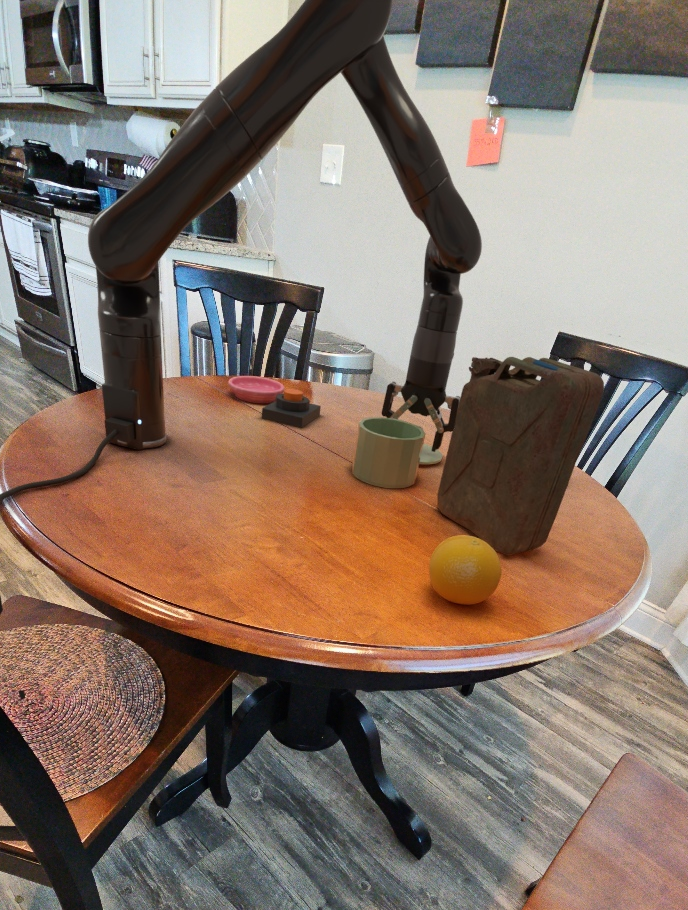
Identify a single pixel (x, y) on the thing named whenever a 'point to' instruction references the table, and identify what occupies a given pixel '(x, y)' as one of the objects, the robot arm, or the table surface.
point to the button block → (291, 411)
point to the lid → (429, 455)
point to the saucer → (255, 389)
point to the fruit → (464, 569)
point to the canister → (516, 448)
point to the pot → (387, 452)
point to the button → (293, 395)
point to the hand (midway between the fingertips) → (413, 445)
